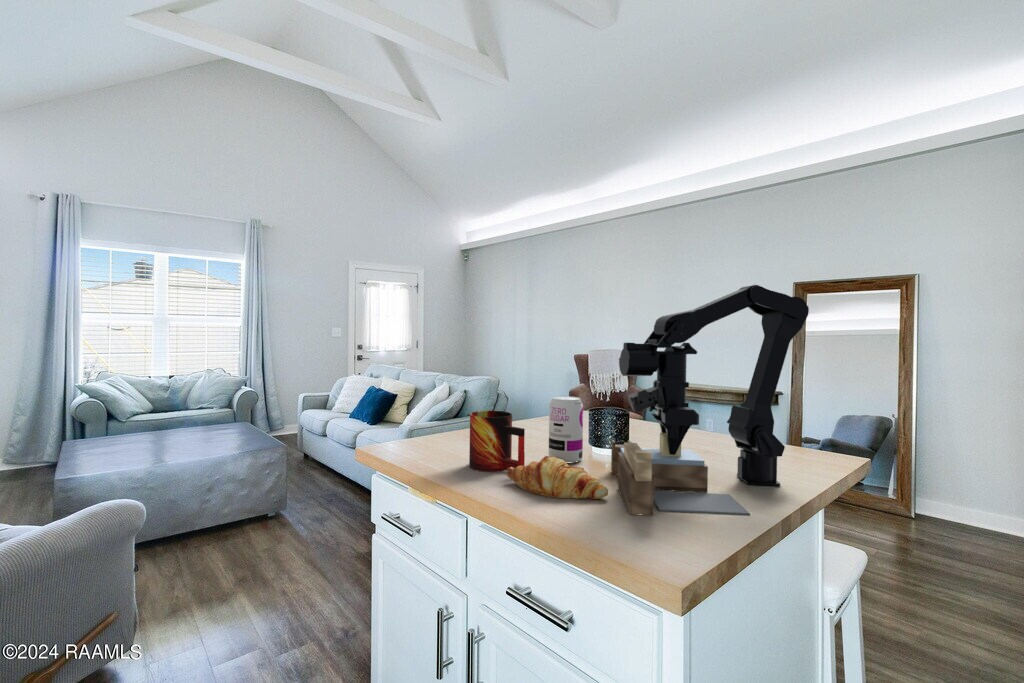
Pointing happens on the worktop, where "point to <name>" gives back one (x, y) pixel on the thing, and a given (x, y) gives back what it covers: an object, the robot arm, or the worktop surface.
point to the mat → (698, 503)
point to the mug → (494, 441)
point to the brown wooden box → (654, 481)
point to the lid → (666, 458)
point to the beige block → (638, 461)
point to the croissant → (557, 480)
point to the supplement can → (566, 428)
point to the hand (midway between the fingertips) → (670, 452)
